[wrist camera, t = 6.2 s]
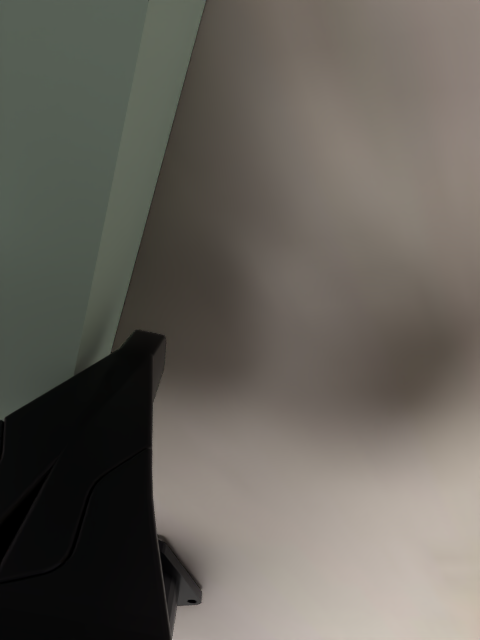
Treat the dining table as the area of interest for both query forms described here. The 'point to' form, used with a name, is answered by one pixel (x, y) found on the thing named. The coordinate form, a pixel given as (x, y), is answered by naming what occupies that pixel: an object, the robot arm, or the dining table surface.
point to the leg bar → (78, 172)
